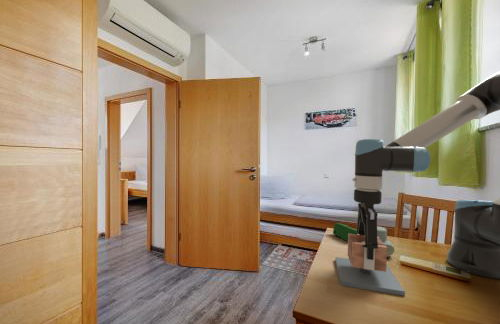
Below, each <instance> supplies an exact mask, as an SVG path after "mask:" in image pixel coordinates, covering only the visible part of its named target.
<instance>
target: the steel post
mask: <svg viewBox="0 0 500 324" xmlns="http://www.w3.org/2000/svg"><path fill="white" fill-rule="evenodd" d="M361 243H365V241H363V242H361ZM359 271H360V272H361V273H363V274H366V275H370V274H372V270H368V269H364V268H359Z"/></svg>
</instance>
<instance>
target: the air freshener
mask: <svg viewBox="0 0 500 324" xmlns="http://www.w3.org/2000/svg"><path fill="white" fill-rule="evenodd" d="M377 237H379V238H380V240H381V241H382V242H383V243H384V244H385V246H386V247H387V257H390V256H391V255H393V254H394V253H395V249H396V248H395V246H394V245H393V243H392V242H391V241H390V240H388V238H387V237H388V230H387V228H386V227H383V226H378V225H377Z"/></svg>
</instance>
